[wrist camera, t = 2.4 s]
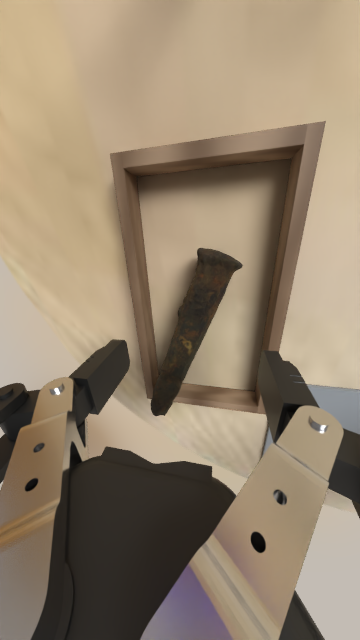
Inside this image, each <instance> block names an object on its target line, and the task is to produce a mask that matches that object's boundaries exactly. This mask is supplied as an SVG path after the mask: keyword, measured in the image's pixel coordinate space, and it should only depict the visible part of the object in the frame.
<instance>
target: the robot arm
mask: <svg viewBox="0 0 360 640" xmlns="http://www.w3.org/2000/svg"><path fill="white" fill-rule="evenodd" d="M129 366H130V359H129V354H128V348H127V343H126V341H125V340H111V341H110V342H109V343H108V344H107V345H106V346H105V347H103V348H101V349H99V350H97V351H96V352H95V353H94V354H92V355H91V356H90V358H88V359H87V360H86V362H84V363H83V364H82V365H81V366H80V367H79V368H78V369H77V370H75V371H74V372H73V373H72V374H71V375H70V376H69V377H64V378H59V379H56V380H53V381H51V382H49V383H48V384H46V385H45V386H44V387H43V388H42V389H41V390H34V391H27V390H26V388H25V386H24V385H23V384H21V383H14V384H10V385H7V386H5V387H2V388H0V427H1V428H2V430H3V432H4V433H5V434H4V435H3V436H2V437H1V438H0V483H1V482H2V481H3V480H4V481H3V484H2V487H1V490H0V640H325V639H324V638H323V636H322V634H321V633H320V631H319V629H318V628H317V626H316V625H315V623H314V621H313V619H312V618H311V616H310V614H309V613H308V611H307V610H306V608H305V606H304V604H303V603H302V601H301V599H300V598H299V596H298V594H297V593H296V591H295V587H296V584H297V581H298V578H299V575H300V572H301V569H302V566H303V562H304V560H305V557H306V553H307V550H308V547H309V544H310V541H311V538H312V535H313V532H314V529H315V526H316V523H317V520H318V516H319V514H320V511H321V508H322V504H323V501H324V498H325V495H326V492H327V489H328V488H329V489H331V490H333V491H335V492H337V493H339V494H341V495H343V496H345V497H347V498H349V499H351V500H352V502H353V505H354V507H355V509H356V511H357V514H358V516H359V518H360V434H357V433H355V432H352V431H349V430H347V429H344V428H342V426H341V424H340V423H339V421H338V420H337V419H336V418H335V417H334V416H332V415H331V414H330V413H328V412H326V411H325V410H323V409H320V407H319V405H318V404H317V402H316V400H315V398H314V397H313V395H312V393H311V392H310V390H309V388H308V386H307V385H306V384H305V381H304V379H303V378H302V377H301V374H300V373H299V371H298V369H297V368H296V367H295V366H294V365H293V364H291V363H290V362H289V361H283V360H282V358H281V356H280V354H279V352H278V351H269V350H262V352H261V357H260V363H259V369H258V385H259V389H260V393H261V397H262V401H263V404H264V408H265V412H266V416H267V420H268V424H269V428H270V432H271V436H272V439H273V443H272V444H271V445H270V446H269V448H268V449H267V451H266V452H265V454H264V455H263V457H262V458H261V460H260V461H259V463H258V464H257V466H256V467H255V469H254V470H253V472H252V474H251V475H250V477H249V478H248V480H247V481H246V483H245V484H244V486H243V487H242V489H241V490H240V492H239V493H238V495H237V496H236V495H235V494H234V493H233V491H232V490H231V489H229V488H228V487H227V486H226V485H225V484H223V483H222V482H220V481H219V480H218V479H216V478H214V477H212V466H207V465H202V464H196V463H191V462H186V461H180V462H171V463H160V464H153V463H151V462H149V461H147V460H145V459H144V458H142V457H140V456H138V455H136V454H135V453H133V452H131V451H128V450H122V449H117V448H111V447H106V448H105V450H104V451H103V453H102V455H101V456H97V457H93V458H90V459H89V452H88V428H87V419H86V417H87V416H88V414H89V413H90V414H97V415H98V414H99V413H100V411H101V410H102V408H103V407H104V405H105V404H106V402H107V401H108V399H109V398H110V396H111V395H112V393H113V392H114V390H115V389H116V388H117V386H118V385H119V383H120V382H121V380H122V379H123V377H124V376H125V374H126V373H127V371H128V369H129Z"/></svg>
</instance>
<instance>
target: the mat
mask: <svg viewBox="0 0 360 640" xmlns="http://www.w3.org/2000/svg"><path fill="white" fill-rule="evenodd" d="M306 385H307V384H306ZM307 386H308V388H309V390H310V392H311V393H312V395H313V397H314V398H315V400H316V402H317V404H318V405H319V407H320V409H323V410H325V411H326V412H328V413H330V414H331V415H332V416H334V417H335V418H336V419H337V420H338V421H339V423H340V424H341V426H342V428H344V429H347V430H349V431H352V432H355V433H357V434H360V390H356V389H346V388H336V387H327V386H317V385H307ZM272 443H273V439H272V436H271V432H270V428H269V427H268V431H267V436H266V441H265V445H264V450H263V454H262V457H263V455H264V454H265V452H266V451H267V449H268V448H269V446H270V445H271V444H272Z"/></svg>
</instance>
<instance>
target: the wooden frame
mask: <svg viewBox="0 0 360 640" xmlns="http://www.w3.org/2000/svg"><path fill="white" fill-rule="evenodd" d="M325 122H326V121H324V122H317V123H310V124H304V125H297V126H290V127H284V128H277V129H271V130H264V131H257V132H251V133H244V134H237V135H231V136H224V137H218V138H211V139H204V140H198V141H191V142H184V143H178V144H171V145H164V146H158V147H151V148H145V149H138V150H131V151H125V152H118V153H111V154H110V157H111V164H112V170H113V177H114V183H115V190H116V196H117V203H118V210H119V216H120V223H121V229H122V236H123V242H124V249H125V255H126V262H127V268H128V275H129V281H130V288H131V295H132V301H133V308H134V314H135V321H136V327H137V334H138V340H139V347H140V353H141V360H142V366H143V373H144V380H145V386H146V393H147V398H148V399H152V396H153V391H154V388H155V385H156V382H157V379H158V377H159V373H158V364H157V355H156V346H155V337H154V329H153V320H152V311H151V302H150V293H149V284H148V275H147V266H146V257H145V248H144V239H143V230H142V222H141V213H140V204H139V195H138V186H137V177H138V176H146V175H155V174H163V173H171V172H180V171H188V170H197V169H205V168H213V167H222V166H230V165H238V164H247V163H255V162H263V161H272V160H280V159H289V158H292V160H291V166H290V173H289V179H288V185H287V192H286V198H285V204H284V211H283V217H282V223H281V230H280V236H279V242H278V249H277V255H276V261H275V268H274V274H273V280H272V287H271V293H270V299H269V306H268V312H267V318H266V325H265V331H264V337H263V343H262V350H269V351H278V352H279V349H280V344H281V339H282V334H283V329H284V324H285V319H286V314H287V309H288V304H289V299H290V294H291V290H292V285H293V280H294V275H295V270H296V265H297V260H298V255H299V250H300V245H301V240H302V235H303V230H304V226H305V221H306V216H307V211H308V206H309V201H310V196H311V191H312V186H313V181H314V176H315V171H316V167H317V162H318V157H319V152H320V147H321V142H322V137H323V132H324V127H325ZM262 350H261V352H262ZM260 357H261V356H260ZM259 363H260V362H259ZM173 402H178V403H185V404H192V405H200V406H207V407H214V408H222V409H229V410H236V411H244V412H251V413H259V414H266V412H265V408H264V404H263V401H262V397H261V393H260V389H259V385H258V375H257V381H256V388H255V391H246V390H237V389H229V388H220V387H211V386H202V385H194V384H185V383H182V385H181V389H180V391H179V393H178V395H177V396H176V397H175V399H174V400H173Z"/></svg>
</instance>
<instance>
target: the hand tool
mask: <svg viewBox="0 0 360 640" xmlns="http://www.w3.org/2000/svg"><path fill="white" fill-rule="evenodd" d="M197 255H198V265H197V268H196V275H195V277H194V280H193V282H192V285H191V287H190V289H189V290H188V293H187V296H186V297H185V299H184V301H183V305H182V306H181V307H180V308H179V311H178V316H179V320H178V325H177V327H176V330H175V333H174V336H173V338H172V341H171V344H170V347H169V350H168V353H167V356H166V359H165V361H164V363H163V365H162V369H161V373H160V375H159V377H158V379H157V382H156V385H155V388H154V391H153V396H152V400H151V410H152V413H153V415H155V416H159V415H164V416H165V414H166V413H167V411H168V410H169V408H170V407H171V405H172V403H173V400H174V399H175V397H176V396H177V395H178V393H179V391H180V389H181V385H182V382H183V380H184V378H185V376H186V374H187V371H188V369H189V367H190V365H191V362H192V361H193V359H194V357H195V355H196V352H197V351H198V349H199V347H200V345H201V342H202V340H203V338H204V336H205V334H206V332H207V330H208V327H209V325H210V323H211V321H212V319H213V317H214V315H215V313H216V311H217V308H218V306H219V304H220V302H221V300H222V298H223V296H224V294H225V291H226V288H227V286H228V283H229V281H230V279H231V277H232V275H233V273H234V272H235V271H236V270H238V269H240V268H242V266H243V265H242V264H241V263H240V262H239V261H237V260H235V259H234V258H232V257H231V256H229V255H226V254H224V253H222V252H220V251H217V250H212V249H204V248H199V249H198V251H197Z"/></svg>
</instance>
